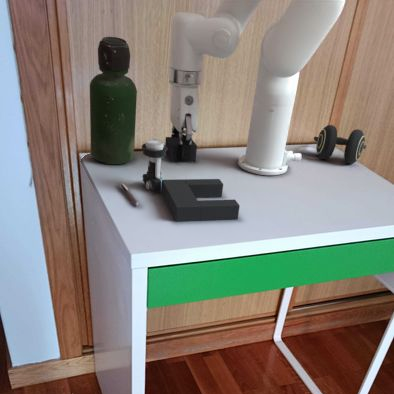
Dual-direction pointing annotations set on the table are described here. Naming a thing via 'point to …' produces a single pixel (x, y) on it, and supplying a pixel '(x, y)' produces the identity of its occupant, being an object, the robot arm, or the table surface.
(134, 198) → the pen
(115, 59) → the green bottle
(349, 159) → the black dumbbell
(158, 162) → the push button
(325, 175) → the table surface
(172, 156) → the small black block
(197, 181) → the black u-shaped block
